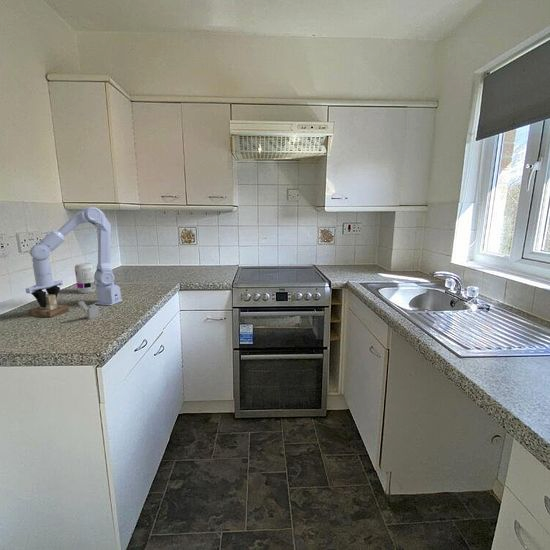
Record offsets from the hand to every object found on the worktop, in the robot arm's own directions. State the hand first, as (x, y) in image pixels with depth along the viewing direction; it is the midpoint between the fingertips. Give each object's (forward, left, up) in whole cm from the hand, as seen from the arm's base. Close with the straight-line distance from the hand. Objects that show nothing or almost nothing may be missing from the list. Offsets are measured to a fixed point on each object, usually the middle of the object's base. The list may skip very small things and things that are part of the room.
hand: (48, 305), depth 130 cm
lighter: (-22, +1, -4) cm, 22 cm away
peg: (0, 0, -3) cm, 4 cm away
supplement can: (+14, -33, -4) cm, 36 cm away
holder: (0, 0, -3) cm, 3 cm away
